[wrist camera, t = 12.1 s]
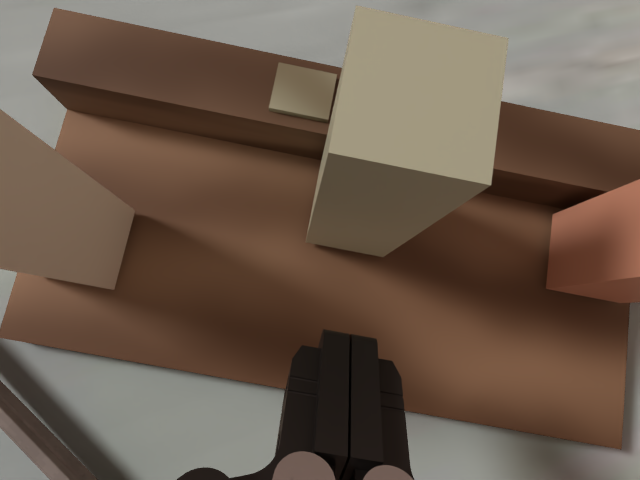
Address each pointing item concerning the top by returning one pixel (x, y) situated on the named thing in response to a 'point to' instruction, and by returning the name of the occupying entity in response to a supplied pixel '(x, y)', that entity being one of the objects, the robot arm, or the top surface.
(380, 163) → the sage key
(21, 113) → the top surface
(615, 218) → the terracotta key
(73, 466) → the combination wrench
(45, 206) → the tan upright block
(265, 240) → the brown wooden base
